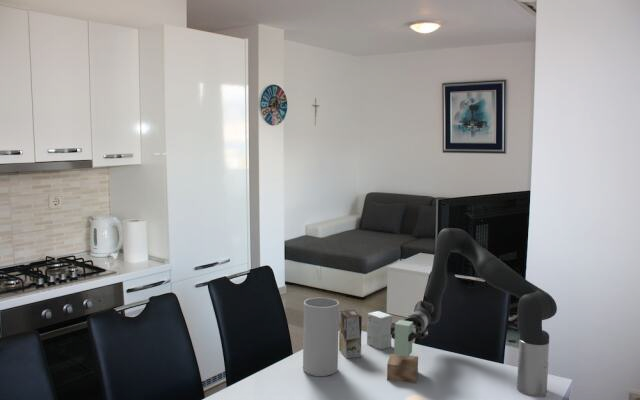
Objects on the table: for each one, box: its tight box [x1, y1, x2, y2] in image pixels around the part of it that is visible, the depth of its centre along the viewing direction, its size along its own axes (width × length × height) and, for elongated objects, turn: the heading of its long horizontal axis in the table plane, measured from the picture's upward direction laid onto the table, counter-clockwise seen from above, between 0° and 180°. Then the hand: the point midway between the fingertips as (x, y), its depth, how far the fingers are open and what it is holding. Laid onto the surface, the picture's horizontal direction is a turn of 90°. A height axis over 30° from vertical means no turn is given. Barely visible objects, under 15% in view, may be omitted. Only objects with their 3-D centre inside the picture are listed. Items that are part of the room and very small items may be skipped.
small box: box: [366, 310, 393, 350], centre depth 228 cm, size 8×6×13 cm
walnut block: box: [386, 353, 419, 384], centre depth 198 cm, size 10×10×6 cm
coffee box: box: [338, 309, 363, 359], centre depth 218 cm, size 9×6×16 cm
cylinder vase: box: [302, 297, 340, 377], centre depth 201 cm, size 12×12×25 cm
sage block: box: [393, 319, 413, 357], centre depth 197 cm, size 5×5×11 cm
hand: (401, 337), depth 194 cm, fingers closed on sage block, 5 cm apart
